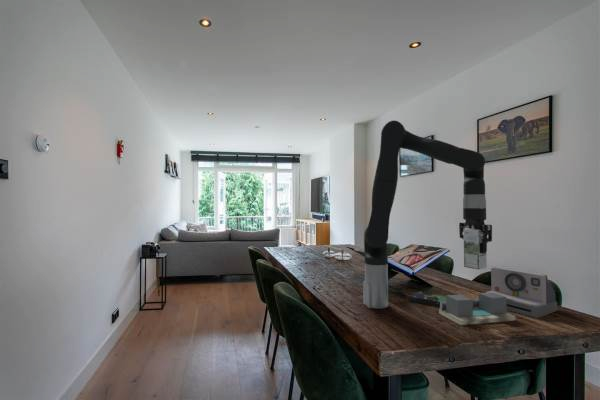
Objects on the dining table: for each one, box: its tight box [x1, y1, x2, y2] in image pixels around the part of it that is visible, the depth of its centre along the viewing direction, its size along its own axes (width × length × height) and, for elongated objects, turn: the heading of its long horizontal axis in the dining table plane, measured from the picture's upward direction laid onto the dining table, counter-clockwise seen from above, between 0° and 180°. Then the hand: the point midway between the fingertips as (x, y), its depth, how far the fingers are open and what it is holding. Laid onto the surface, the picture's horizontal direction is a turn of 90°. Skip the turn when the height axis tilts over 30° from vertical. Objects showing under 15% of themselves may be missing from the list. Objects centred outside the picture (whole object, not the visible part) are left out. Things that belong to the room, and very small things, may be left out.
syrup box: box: [463, 228, 488, 270], centre depth 118 cm, size 6×6×14 cm
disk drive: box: [408, 291, 446, 308], centre depth 136 cm, size 10×3×15 cm
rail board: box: [438, 292, 516, 326], centre depth 117 cm, size 22×12×8 cm, turn 101°
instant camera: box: [485, 266, 558, 319], centre depth 128 cm, size 21×21×15 cm
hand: (475, 251), depth 118 cm, fingers closed on syrup box, 7 cm apart
